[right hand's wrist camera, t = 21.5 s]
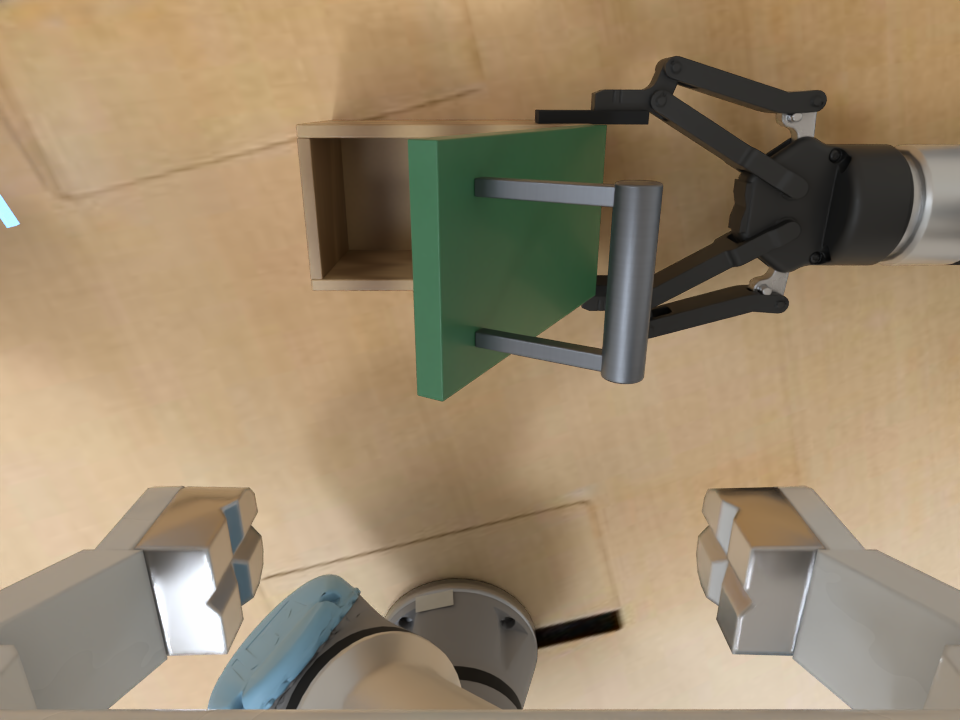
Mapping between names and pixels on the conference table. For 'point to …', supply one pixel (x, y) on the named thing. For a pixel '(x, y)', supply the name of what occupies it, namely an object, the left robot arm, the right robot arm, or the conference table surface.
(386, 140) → the chest
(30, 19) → the conference table surface
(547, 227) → the lid
